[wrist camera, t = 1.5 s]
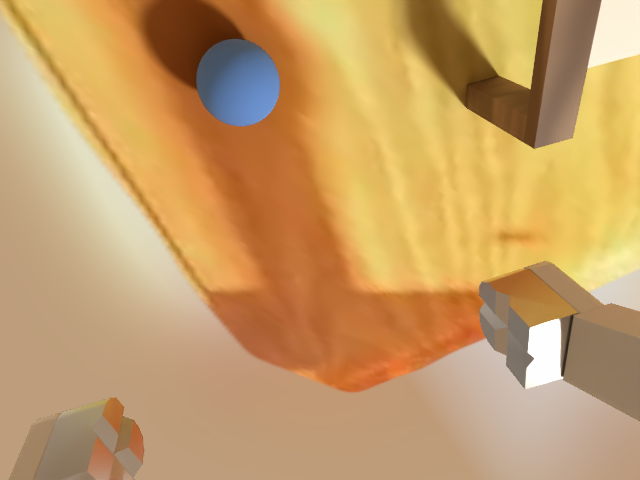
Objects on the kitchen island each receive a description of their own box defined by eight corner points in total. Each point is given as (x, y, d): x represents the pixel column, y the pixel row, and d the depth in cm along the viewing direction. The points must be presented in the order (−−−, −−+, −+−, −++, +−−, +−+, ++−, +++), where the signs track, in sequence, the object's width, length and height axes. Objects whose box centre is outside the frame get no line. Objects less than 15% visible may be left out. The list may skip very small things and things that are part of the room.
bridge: (466, 107, 37) (534, 148, 30) (475, -104, 28) (575, -120, 21) (497, 99, 37) (572, 137, 30) (516, -113, 28) (629, -131, 21)
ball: (184, 42, 29) (183, 60, 24) (262, 23, 29) (275, 38, 25) (210, 119, 32) (213, 147, 28) (280, 101, 33) (294, 126, 28)
